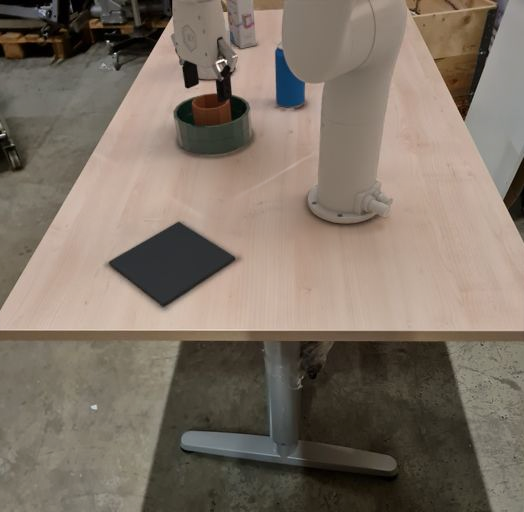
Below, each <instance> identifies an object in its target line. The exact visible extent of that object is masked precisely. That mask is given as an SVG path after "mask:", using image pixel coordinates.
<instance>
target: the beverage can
mask: <svg viewBox="0 0 524 512" xmlns="http://www.w3.org/2000/svg"><path fill="white" fill-rule="evenodd" d="M274 67H275V68H274V69H275V70H274V71H275V101H276V104H277V105H278V106H280V107H282V108H292V109H297V108H300V107H301V106H302V105H303V104H304V103H305V101H306V83H305V82H303V81H301V80H299V79H298V78H297V77H296V76H294V74H293V73H292V72H291V70H290V69H289V67H288V65H287V63H286V60H285V57H284V53H283V47H282V41H279V42H278V43H276V49H275V51H274Z"/></svg>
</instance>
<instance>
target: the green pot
mask: <svg viewBox="0 0 524 512" xmlns="http://www.w3.org/2000/svg"><path fill="white" fill-rule="evenodd" d="M213 93H214V94H215V92H213ZM201 95H202V94H201ZM201 95H196V96H192V97H190V98H188V99H185V100H183V101H181V102H180V103H179V104H178V105H176V106H175V108H174V109H173V112H172V113H173V120H174V127H175V130H176V131H175V132H176V136H177V141H178V144H179V146H180V147H181V148H182V149H183V150H185V151H187V152H189V153H193V154H196V155H205V156H210V155H211V156H213V155H223V154H226V153H230V152H231V153H232V152H233V151H237V150H239V149H241V148H243V147H244V146H245V145H247V143H249V141H250V140H251V138H252V136H253V131H252V117H251V115H252V114H251V106H250V104H249V102H248V101H247V100H246V99H245V98H243V97H241V96H238V95H235V94H232V98H231V99H229V100H230V110H231V120H232V122H229V123H225V124H221V125H214V126H196V125H195V122H194V116H193V109H192V102H193V100H194V99H195V98H196V97H199V96H201Z"/></svg>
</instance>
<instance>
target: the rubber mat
mask: <svg viewBox="0 0 524 512" xmlns="http://www.w3.org/2000/svg"><path fill="white" fill-rule="evenodd" d="M234 261H236V257H235V255H233V254H231V253H230V252H228V251H227V250H225V249H223V248H222V247H219V245H217V244H216V243H214V242H212V241H210V240H209V239H207V238H206V237H204V236H203V235H201V234H199V233H198V232H196V231H194V230H193V229H192V228H190V227H188V226H186V225H185V224H183V223H182V222H180V221H177V222H175V223H174V224H171V225H170V226H168V227H167V228H165V229H163V230H162V231H160V232H158V233H156V234H154V235H153V236H151V237H149V238H147V239H146V240H144V241H142V242H140V243H138V244H137V245H136V246H134V247H132V248H130V249H128V250H126V251H125V252H123V253H121V254H119V255H118V256H116V257H114V258H113V259H111V260H109V261H108V264H109V266H111V267H112V268H114V269H115V270H116V271H117V272H119V274H121V275H122V276H123V277H125V278H126V279H127V280H128V281H130V282H131V283H132V284H134V285H135V286H136V287H137V288H139V289H140V290H141V291H142V292H144V293H145V294H146V295H147V296H149V297H150V298H151V299H153V300H154V301H156V302H157V303H158V304H159V305H161V306H162V307H163V308H164V307H167V305H169V304H170V303H172V302H174V301H176V299H178V298H179V297H181V296H183V295H184V294H186V293H187V292H189V291H190V290H192V289H194V288H195V287H196V286H198V285H199V284H200V283H203V282H204V281H205V280H207V279H209V278H210V277H211V276H213V275H215V274H216V273H217V272H220V270H222V269H223V268H226V267H227V266H228V265H230V264H231V263H233V262H234Z"/></svg>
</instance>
